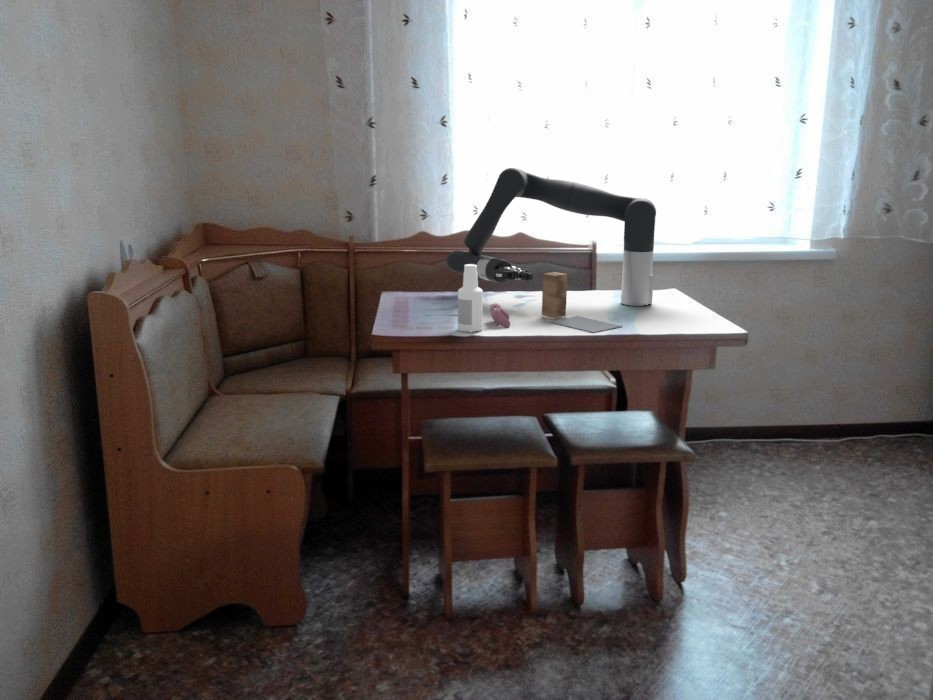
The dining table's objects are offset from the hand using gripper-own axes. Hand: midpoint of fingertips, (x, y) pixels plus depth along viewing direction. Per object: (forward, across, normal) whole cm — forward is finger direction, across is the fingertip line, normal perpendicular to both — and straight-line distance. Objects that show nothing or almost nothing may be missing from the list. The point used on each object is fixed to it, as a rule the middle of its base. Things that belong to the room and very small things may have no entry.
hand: (530, 277), depth 240 cm
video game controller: (+7, -18, +11) cm, 23 cm away
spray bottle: (+8, -30, +11) cm, 33 cm away
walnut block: (+10, 0, +11) cm, 15 cm away
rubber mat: (+23, 0, +11) cm, 25 cm away
